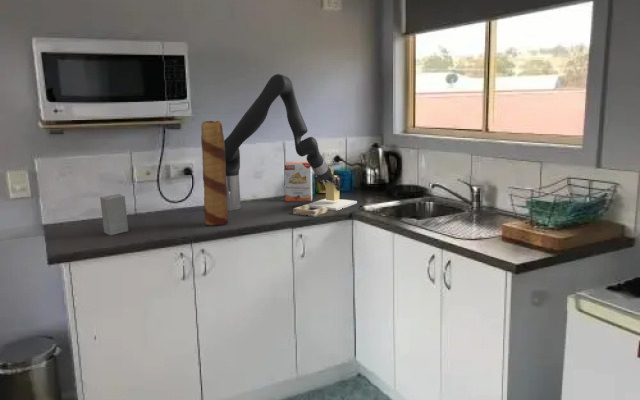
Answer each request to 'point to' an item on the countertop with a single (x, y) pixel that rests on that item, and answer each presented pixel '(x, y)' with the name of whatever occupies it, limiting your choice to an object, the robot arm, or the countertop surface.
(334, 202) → the chopping board
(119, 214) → the skincare box
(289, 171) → the cracker box
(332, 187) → the block
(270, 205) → the countertop surface
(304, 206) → the pocket
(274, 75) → the robot arm
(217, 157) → the wafer roll
